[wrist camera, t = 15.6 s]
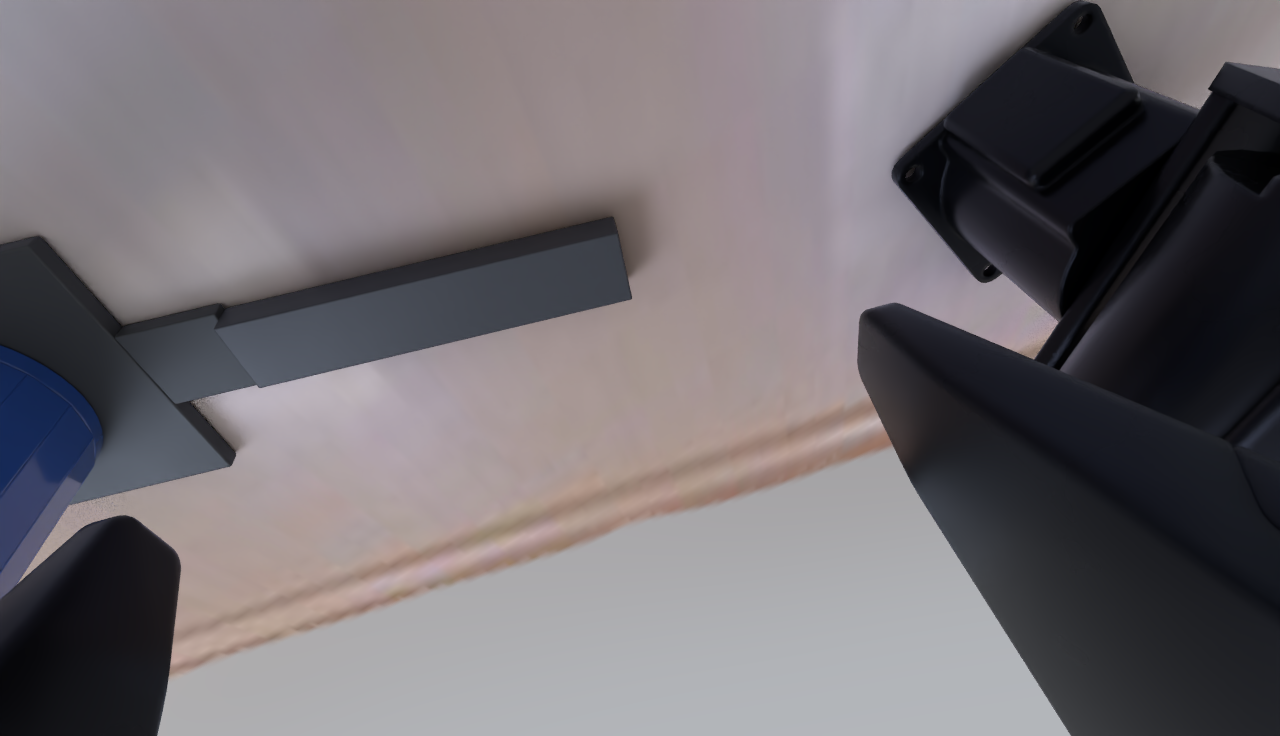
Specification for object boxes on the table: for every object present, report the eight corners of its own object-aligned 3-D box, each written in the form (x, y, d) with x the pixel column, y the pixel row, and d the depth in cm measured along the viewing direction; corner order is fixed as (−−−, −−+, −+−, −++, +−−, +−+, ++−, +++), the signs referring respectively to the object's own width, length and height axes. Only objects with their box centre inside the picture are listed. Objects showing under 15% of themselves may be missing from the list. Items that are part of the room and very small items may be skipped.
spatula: (589, 105, 17) (593, 119, 16) (643, 356, 23) (649, 376, 22) (-371, 330, 17) (-417, 356, 16) (-65, 527, 23) (-87, 553, 22)
